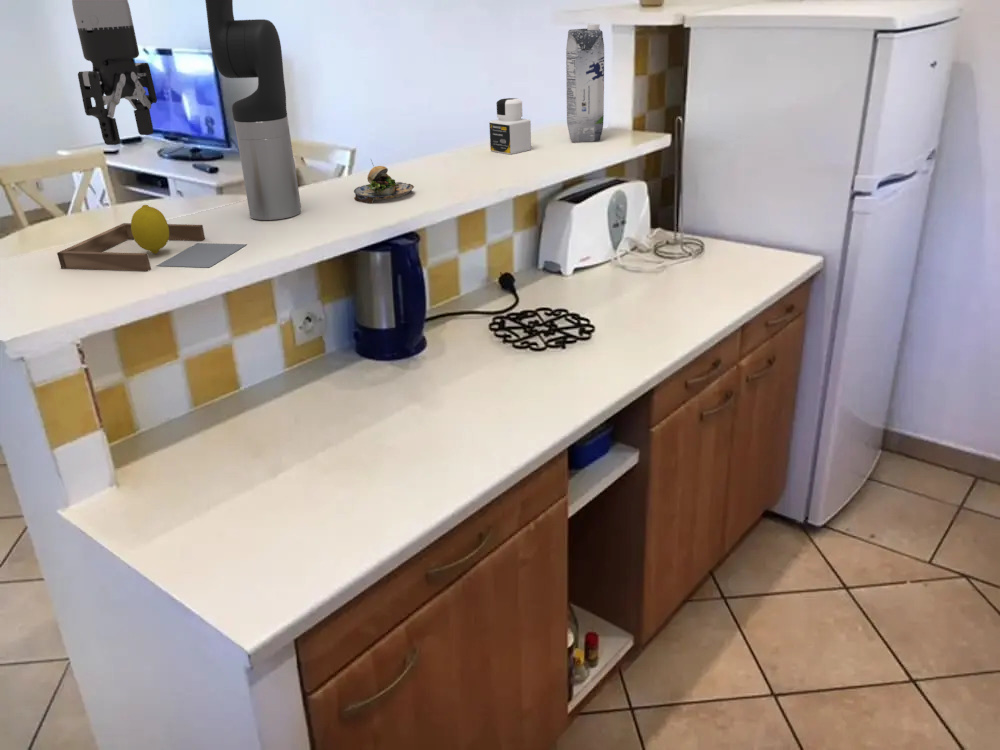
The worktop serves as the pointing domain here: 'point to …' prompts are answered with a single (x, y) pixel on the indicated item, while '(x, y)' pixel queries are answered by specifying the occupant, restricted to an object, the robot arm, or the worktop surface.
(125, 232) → the bay
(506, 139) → the medicine bottle
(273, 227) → the worktop surface
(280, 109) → the robot arm
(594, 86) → the juice carton
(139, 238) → the lemon
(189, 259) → the mat
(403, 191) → the burger
